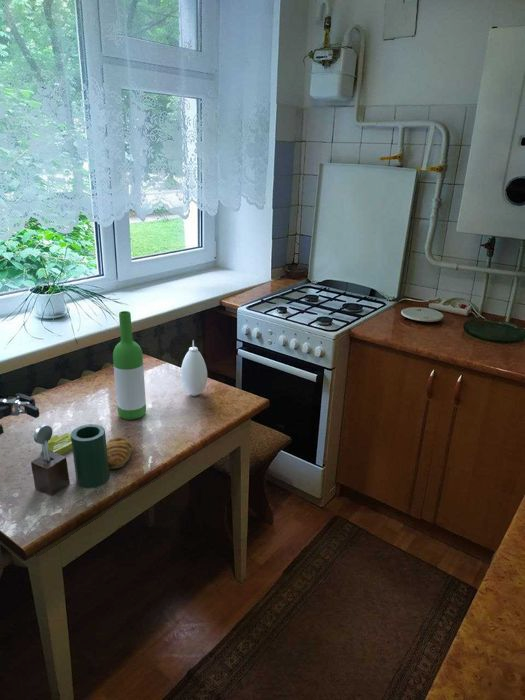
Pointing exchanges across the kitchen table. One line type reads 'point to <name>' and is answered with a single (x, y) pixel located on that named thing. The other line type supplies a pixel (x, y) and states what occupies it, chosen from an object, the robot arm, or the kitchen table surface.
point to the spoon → (44, 439)
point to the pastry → (118, 452)
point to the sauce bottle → (193, 372)
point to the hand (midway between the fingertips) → (20, 421)
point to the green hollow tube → (90, 455)
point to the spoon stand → (50, 474)
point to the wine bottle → (129, 372)
